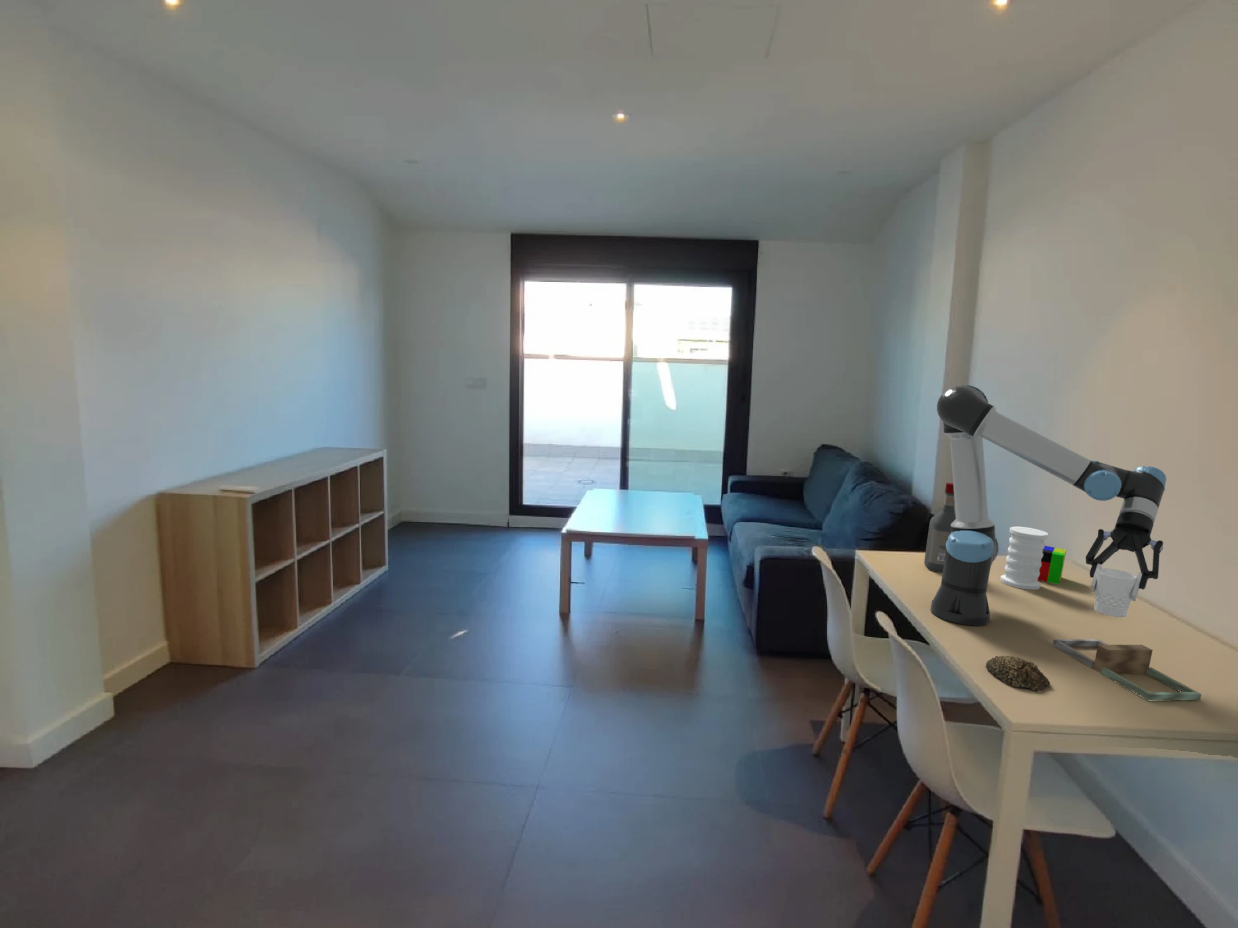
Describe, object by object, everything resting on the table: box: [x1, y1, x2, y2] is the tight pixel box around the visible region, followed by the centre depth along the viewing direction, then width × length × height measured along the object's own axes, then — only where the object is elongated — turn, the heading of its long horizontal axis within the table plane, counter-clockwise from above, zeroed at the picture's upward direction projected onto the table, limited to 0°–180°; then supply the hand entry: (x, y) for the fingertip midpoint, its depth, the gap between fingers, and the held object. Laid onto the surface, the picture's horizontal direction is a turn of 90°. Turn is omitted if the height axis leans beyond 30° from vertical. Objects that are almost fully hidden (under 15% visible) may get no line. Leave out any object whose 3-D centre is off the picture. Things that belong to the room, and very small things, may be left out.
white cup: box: [1093, 568, 1137, 618], centre depth 175 cm, size 8×8×10 cm
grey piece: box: [1051, 638, 1202, 702], centre depth 171 cm, size 13×29×6 cm, turn 8°
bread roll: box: [985, 655, 1051, 692], centre depth 164 cm, size 13×12×5 cm
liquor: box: [923, 482, 956, 574], centre depth 243 cm, size 9×9×30 cm
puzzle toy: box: [1038, 545, 1067, 585], centre depth 243 cm, size 10×10×10 cm
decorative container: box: [999, 526, 1049, 591], centre depth 233 cm, size 12×12×18 cm
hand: (1112, 592), depth 174 cm, fingers closed on white cup, 8 cm apart
